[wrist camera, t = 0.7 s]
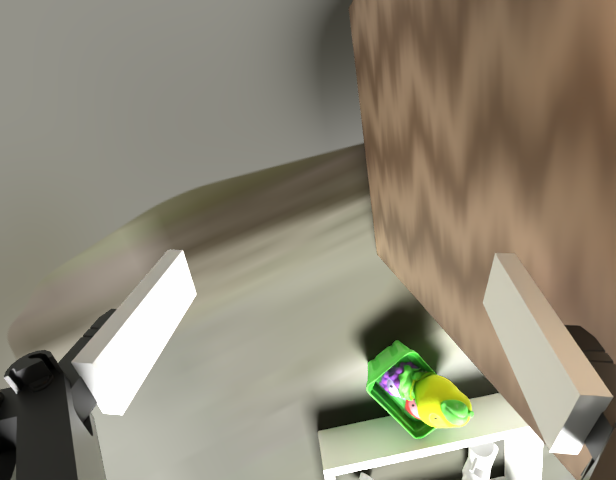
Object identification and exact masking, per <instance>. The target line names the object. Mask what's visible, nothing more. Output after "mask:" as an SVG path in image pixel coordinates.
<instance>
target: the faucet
mask: <svg viewBox="0 0 616 480" xmlns="http://www.w3.org/2000/svg"><path fill="white" fill-rule="evenodd" d="M497 452H498V447H497V446H496V445H495V444H494V443H493V442H488V443H484V444H479V445H475V446H470V447H469V451H468V458H467V461H466V463H465V465H464V467H463V469H462V473H463V478H462V480H489V479H490V472H491V467H492V465H493V462H494V460H495V457H496V455H497ZM359 480H373V479H372V478H371V477H370V476H368V475H367V474H365V473H360V477H359Z"/></svg>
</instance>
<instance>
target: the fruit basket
mask: <svg viewBox="0 0 616 480" xmlns="http://www.w3.org/2000/svg"><path fill="white" fill-rule="evenodd" d="M366 390H367V392H368V393H369V394H370V395H371V396H372V397H373V398H374V399H375V400H376V401H377V402H378V403H379V404H380V405H381V406H382V407H383V408H384V409H385V410H386V411H387V412H388V413H389V414H390V415H391V416H392V417H393V418H394V419H395V420H396V421H397V422H398V423H399V424H400V425H401V426H402V427H403V428H404V429H405V430H406V431H407V432H409V434H410V435H411V436H412V437H413V438H415V439H421V438H424V437H425V436H427V435H428V434H429V433H431V432H432V431H433V430H434V429H436V428H450V427H460V426H464V425H465V424H467V422H468V421H469V419H470V417H473V415H474V412H473V411H472V405H471V402H470V400H469V399H468V397H467V396H465V395H464V394H463V393H462V392H460V391H459V390H458V388H457V387H456V386H455V385H454V384H453V383H452V382H451V381H450V380H448V379H447V378H445V377H442V376H439V375H437V374H436V373H435V372H434V371H433V370H432V369H431V367H430V366H429V365H428V364H427V363H426V362H425V361H424V360H423V359H422V357H421V356H420V355H419V354H418V353H417V352H415V351H414V350H411V349H409V348H408V347H407V346H405V345H404V344H403V343H401V342H400V341H399V340H396V341H394V342H393V344H392V346H389V347H387V348H386V349H384V350H383V351H382V352H380V353H379V354H378V355H377V356H376V357H375V359H373V360H370V361H369V362H368V381H367V387H366Z"/></svg>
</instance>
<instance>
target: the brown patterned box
mask: <svg viewBox="0 0 616 480" xmlns="http://www.w3.org/2000/svg"><path fill="white" fill-rule="evenodd" d="M349 15H350V23H351V32H352V41H353V50H354V58H355V67H356V75H357V84H358V93H359V102H360V110H361V119H362V127H363V136H364V145H365V154H366V162H367V171H368V180H369V188H370V197H371V206H372V214H373V223H374V232H375V240H376V249H377V255H378V256H379V257H380V258H381V259H382V260H383V262H384V263H385V264H386V265H387V266H388V267H389V268H390V269H391V271H392V272H393V273H394V274H395V275H396V276H397V277H398V279H399V280H400V281H401V282H402V283H403V284H404V285H405V286H406V288H407V289H408V290H409V291H410V292H411V293H412V294H413V295H414V297H415V298H416V299H417V300H418V301H419V302H420V303H421V305H422V306H423V307H424V308H425V309H426V310H427V311H428V312H429V314H430V315H431V316H432V317H433V318H434V319H435V320H436V321H437V323H438V324H439V325H440V326H441V327H442V328H443V329H444V331H445V332H446V333H447V334H448V335H449V336H450V337H451V338H452V340H453V341H454V342H455V343H456V344H457V345H458V346H459V348H460V349H461V350H462V351H463V352H464V353H465V354H466V355H467V357H468V358H469V359H470V360H471V361H472V362H473V363H474V364H475V366H476V367H477V368H478V369H479V370H480V371H481V372H482V374H483V375H484V376H485V377H486V378H487V379H488V380H489V381H490V383H491V384H492V385H493V386H494V387H495V388H496V389H497V390H498V392H499V393H500V394H501V395H502V396H503V397H504V398H505V400H506V401H507V402H508V403H509V404H510V405H511V406H512V407H513V409H514V410H515V411H516V412H517V413H518V414H519V415H520V417H521V418H522V419H523V420H524V421H525V422H526V423H527V424H528V426H529V427H530V428H531V429H532V430H533V431H534V432H535V433H536V435H537V436H538V437H539V438H540V439H541V440H542V441H543V443H544V444H545V445H546V443H545V441H544V439H543V437H542V434H541V432H540V430H539V428H538V425H537V423H536V421H535V419H534V417H533V414H532V412H531V410H530V408H529V405H528V403H527V401H526V399H525V396H524V394H523V392H522V390H521V387H520V385H519V383H518V381H517V378H516V376H515V374H514V372H513V370H512V367H511V365H510V363H509V361H508V358H507V356H506V354H505V352H504V349H503V347H502V345H501V343H500V340H499V338H498V336H497V334H496V331H495V329H494V327H493V325H492V323H491V320H490V318H489V316H488V314H487V311H486V309H485V307H484V305H483V300H484V296H485V292H486V288H487V284H488V280H489V276H490V272H491V268H492V264H493V260H494V256H495V253H515V254H516V256H517V257H518V259H519V260H520V262H521V263H522V265H523V266H524V268H525V269H526V270H527V272H528V273H529V275H530V276H531V278H532V279H533V281H534V282H535V284H536V285H537V286H538V288H539V289H540V291H541V292H542V294H543V295H544V297H545V298H546V300H547V301H548V302H549V304H550V305H551V307H552V308H553V310H554V311H555V313H556V314H557V316H558V317H559V318H560V320H561V321H562V323H563V324H564V325H578V326H581V327H582V328H584V329H585V330H586V331H588V332H589V333H590V334H592V335H593V336H594V337H595V338H596V339H597V340H598V342H599V343H600V344H601V346H602V347H603V348H604V349H605V353H608V355H609V356H610V357H611V359H612V360H613V363H614V364H616V0H353V1H352V4H351V5H350V7H349ZM552 453H553V452H552ZM553 454H554V455H555V456H556V457H557V458H558V459H559V461H560V462H561V463H562V464H563V465H564V466H565V467H566V469H567V470H568V471H569V472H570V473H571V474H572V475H573V476H574V478H575V479H576V480H580V479H581V477H582V476H581V473H582V472H583V470H584V469H585V467H586V466H587V464H588V463H589V461H590V460H591V458H592V456H591V454H590V452H589V450H588V448H587V447H586V445H585V444H584V445H583V447H582V448H581V450H580V452H579V453H578V455H576V454H565V453H553Z"/></svg>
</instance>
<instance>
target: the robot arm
mask: <svg viewBox="0 0 616 480" xmlns="http://www.w3.org/2000/svg"><path fill="white" fill-rule="evenodd" d="M196 295H197V294H196V291H195V288H194V284H193V281H192V278H191V275H190V271H189V268H188V265H187V262H186V258H185V255H184V252H183V250H168V251H167V252H166V253H165V254H164V255H163V256H162V257H161V259H160V260H159V261H158V262H157V263H156V264H155V266H154V267H153V268H152V269H151V270H150V271H149V273H148V274H147V275H146V276H145V277H144V278H143V279H142V281H141V282H140V283H139V284H138V285H137V286H136V288H135V289H134V290H133V291H132V292H131V293H130V295H129V296H128V297H127V298H126V299H125V300H124V301H123V303H122V304H121V305H120V306H119V307H118V308H117V309H111V310H109V311H108V312H106V313H105V314H103V315H102V316H101V317H99V318H98V319H97V320H96V322H95V323H94V324H93V325H92V326H91V327H90V329H88V330H87V332H86V333H85V334H84V335H83V337H81V338H80V339H79V340H78V342H77V343H76V344H75V345H74V346H73V347H72V348H71V349H70V350H69V352H68V353H67V354H66V355H65V356H64V357H63V358H62V359H61V360H60V362H59V363H57V361H56V360H55V358H54V357H53V355H52V354H51V352H49V351H46V350H41V351H35V352H32V353H29V354H27V355H25V356H23V357H22V358H20V359H18V360H17V361H16V362H14V363H13V364H12V365H11V366H10V367H9V369H7V371H6V373H5V375H4V379H5V380H6V381H7V382H8V384H9V385H10V386H11V387H10V388H6V389H1V390H0V480H106V476H105V471H104V466H103V461H102V456H101V451H100V446H99V441H98V436H97V431H96V426H95V421H94V417H93V416H92V414H91V411H92V410H93V408H94V407H95V406H96V404H98V406H99V407H100V409H101V411H102V412H103V413H104V414H116V415H123V414H124V412H125V410H126V409H127V407H128V405H129V404H130V402H131V401H132V399H133V397H134V396H135V394H136V392H137V391H138V389H139V387H140V386H141V384H142V383H143V381H144V379H145V378H146V376H147V374H148V373H149V371H150V370H151V368H152V366H153V365H154V363H155V361H156V360H157V358H158V356H159V355H160V353H161V352H162V350H163V348H164V347H165V345H166V343H167V342H168V340H169V339H170V337H171V335H172V334H173V332H174V330H175V329H176V327H177V325H178V324H179V322H180V321H181V319H182V317H183V316H184V314H185V312H186V311H187V309H188V308H189V306H190V304H191V303H192V301H193V299H194V298H195V296H196ZM483 305H484V307H485V309H486V311H487V314H488V316H489V318H490V320H491V323H492V325H493V327H494V329H495V331H496V334H497V336H498V338H499V340H500V343H501V345H502V347H503V349H504V352H505V354H506V356H507V358H508V361H509V363H510V365H511V367H512V370H513V372H514V374H515V376H516V378H517V381H518V383H519V385H520V387H521V390H522V392H523V394H524V396H525V399H526V401H527V403H528V405H529V408H530V410H531V412H532V414H533V417H534V419H535V421H536V423H537V425H538V428H539V430H540V432H541V434H542V437H543V439H544V441H545V443H546V446H547V448H548V450H549V452H553V453H565V454H576V455H578V453H579V452H580V450H581V448H582V447H583V445H584V444H585V445H586V447H587V448H588V450H589V452H590V454H591V456H592V458H591V460H590V461H589V463H588V464H587V466H586V467H585V469H584V470H583V472H582V473H581V476H582V477H581V479H580V480H616V364H614V363H613V360H612V359H611V357H610V356H609V355H608V353H605V349H604V348H603V347H602V346H601V344H600V343H599V342H598V340H597V339H596V338H595V337H594V336H593V335H592V334H590V333H589V332H588V331H586V330H585V329H584V328H582V327H581V326H578V325H564V324H563V323H562V321H561V320H560V318H559V317H558V316H557V314H556V313H555V311H554V310H553V308H552V307H551V305H550V304H549V302H548V301H547V300H546V298H545V297H544V295H543V294H542V292H541V291H540V289H539V288H538V286H537V285H536V284H535V282H534V281H533V279H532V278H531V276H530V275H529V273H528V272H527V270H526V269H525V268H524V266H523V265H522V263H521V262H520V260H519V259H518V257H517V256H516V254H515V253H495V256H494V260H493V264H492V268H491V272H490V276H489V280H488V284H487V288H486V292H485V296H484V300H483Z"/></svg>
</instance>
